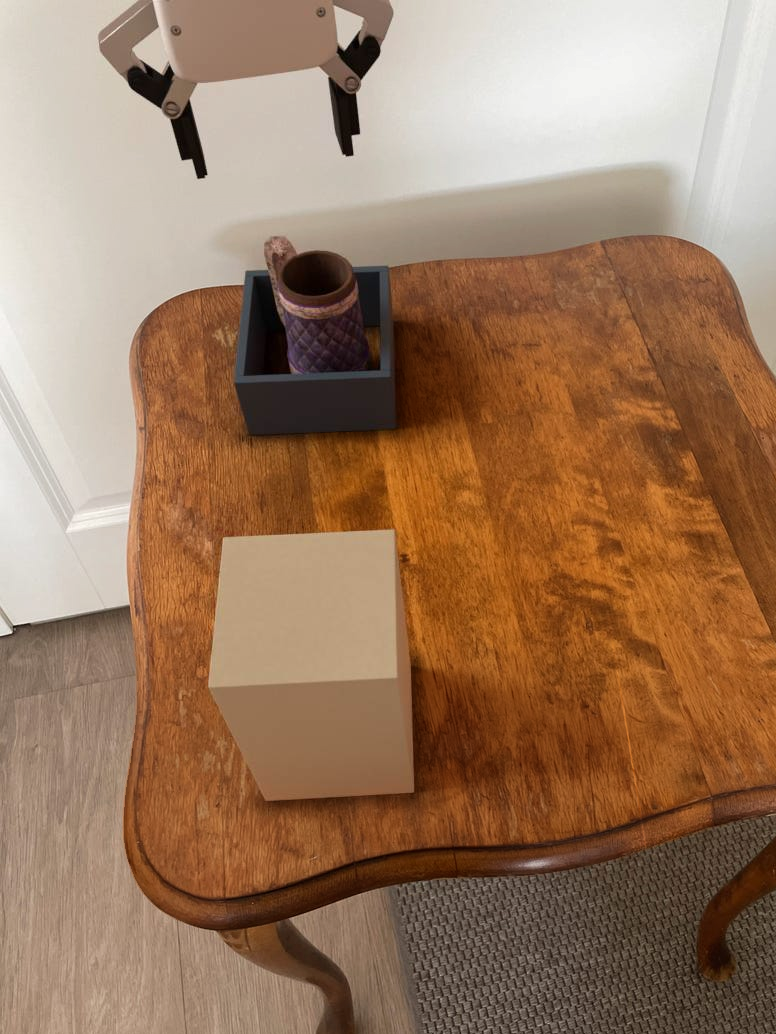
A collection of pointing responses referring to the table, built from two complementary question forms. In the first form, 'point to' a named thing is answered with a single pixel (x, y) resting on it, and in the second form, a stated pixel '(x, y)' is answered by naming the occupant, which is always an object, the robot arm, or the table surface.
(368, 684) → the block
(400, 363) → the table surface
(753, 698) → the table surface
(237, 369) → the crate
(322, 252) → the mug
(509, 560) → the table surface
